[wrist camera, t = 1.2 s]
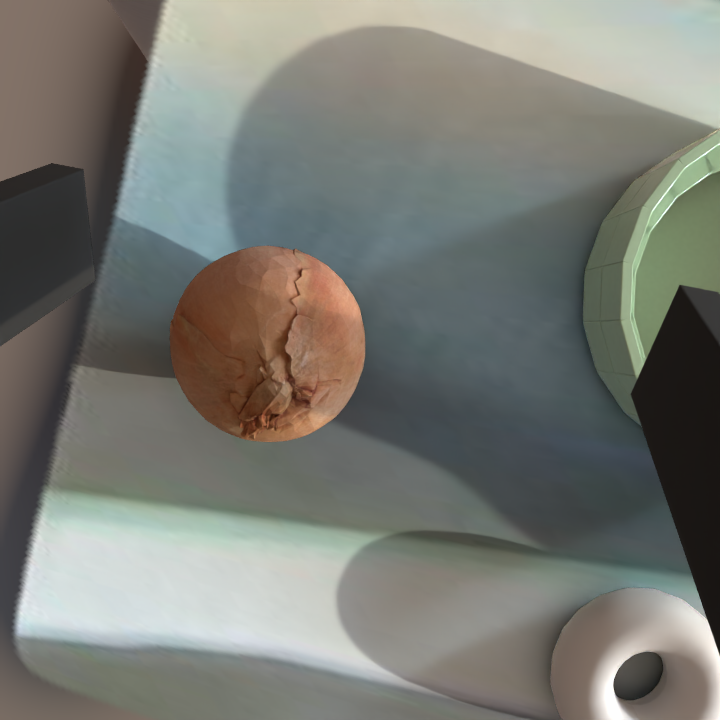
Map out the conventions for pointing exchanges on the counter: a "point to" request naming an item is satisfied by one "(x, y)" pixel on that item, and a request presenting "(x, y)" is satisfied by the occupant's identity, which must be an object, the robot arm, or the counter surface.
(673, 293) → the bowl
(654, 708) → the donut
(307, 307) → the onion
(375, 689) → the counter surface
